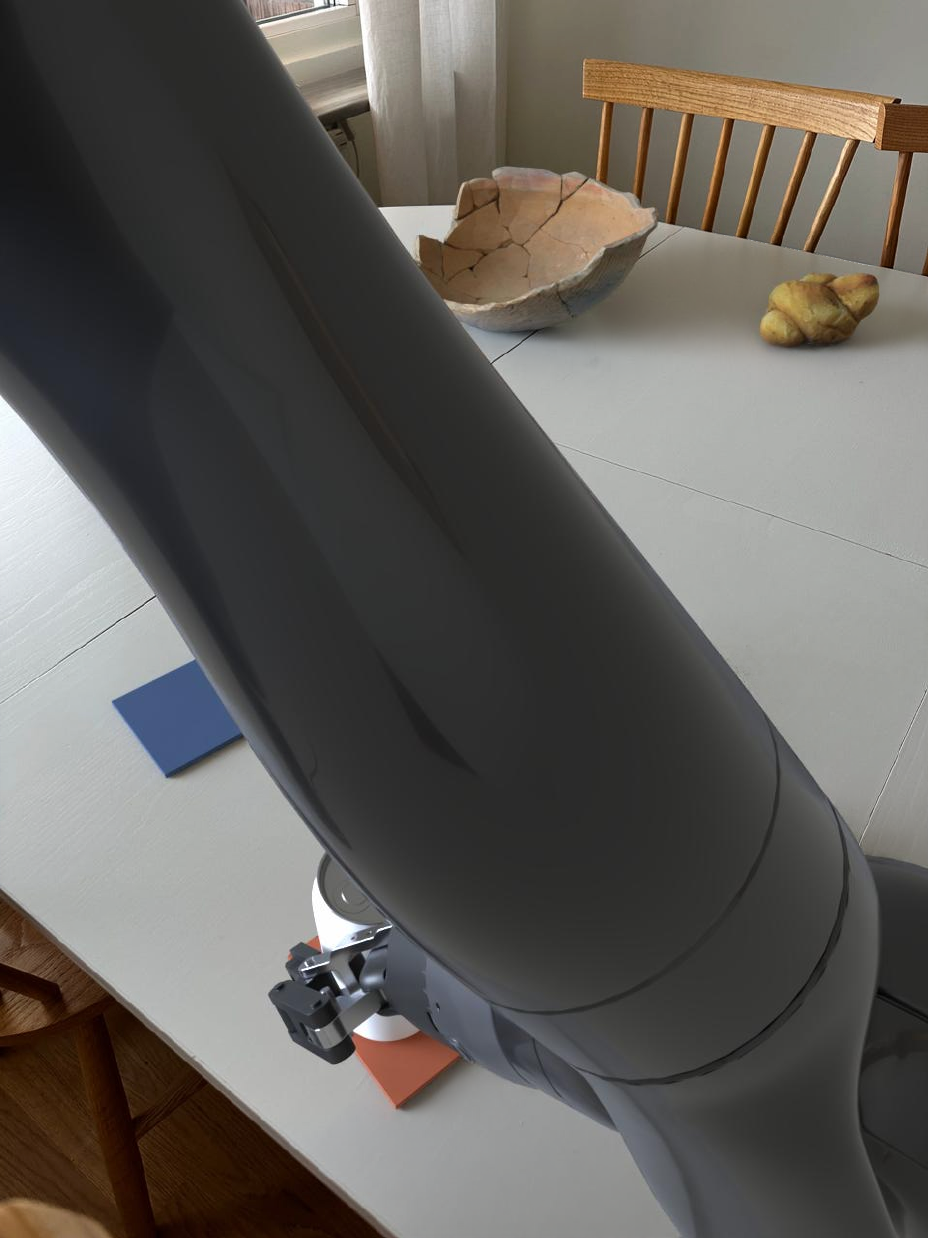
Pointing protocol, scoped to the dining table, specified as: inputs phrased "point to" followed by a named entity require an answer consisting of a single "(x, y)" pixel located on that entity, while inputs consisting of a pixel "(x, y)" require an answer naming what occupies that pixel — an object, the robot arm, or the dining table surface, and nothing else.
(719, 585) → the dining table surface
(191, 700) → the blue mat
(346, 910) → the can
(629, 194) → the ceramic bowl
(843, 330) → the bread roll
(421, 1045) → the terracotta mat
